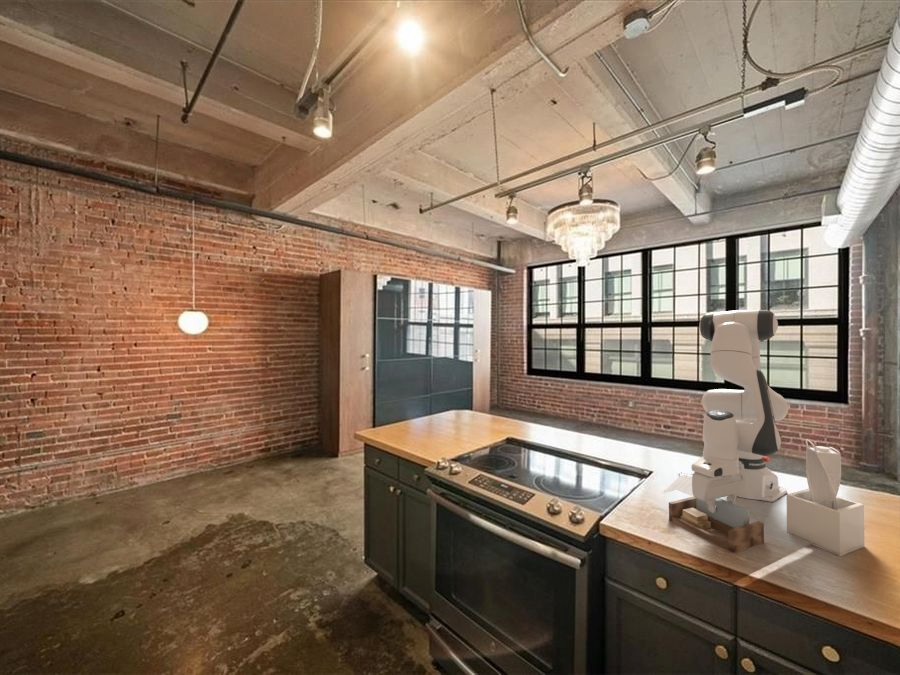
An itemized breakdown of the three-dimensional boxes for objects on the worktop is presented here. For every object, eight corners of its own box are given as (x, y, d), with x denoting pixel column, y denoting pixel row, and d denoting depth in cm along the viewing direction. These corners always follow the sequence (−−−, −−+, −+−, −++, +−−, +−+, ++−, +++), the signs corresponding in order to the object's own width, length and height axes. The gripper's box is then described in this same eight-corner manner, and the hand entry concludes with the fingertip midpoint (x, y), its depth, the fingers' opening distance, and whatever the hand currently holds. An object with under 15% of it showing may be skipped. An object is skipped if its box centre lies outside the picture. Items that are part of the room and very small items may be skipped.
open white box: (810, 526, 115) (810, 488, 115) (864, 546, 104) (863, 504, 104) (787, 534, 111) (786, 494, 111) (840, 556, 100) (839, 512, 100)
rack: (697, 516, 123) (697, 495, 123) (764, 547, 105) (763, 522, 105) (669, 524, 119) (668, 502, 119) (733, 557, 100) (732, 532, 100)
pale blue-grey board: (702, 521, 120) (701, 491, 120) (749, 543, 107) (749, 509, 107) (696, 522, 119) (696, 492, 119) (744, 545, 106) (743, 511, 106)
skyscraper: (798, 533, 110) (796, 440, 110) (813, 527, 113) (811, 436, 113) (836, 548, 102) (834, 448, 102) (851, 541, 105) (849, 444, 105)
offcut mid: (689, 519, 119) (689, 512, 119) (711, 528, 113) (710, 522, 113) (680, 522, 117) (680, 515, 117) (701, 531, 111) (701, 525, 111)
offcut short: (692, 513, 118) (692, 507, 118) (707, 521, 113) (707, 514, 113) (682, 516, 117) (682, 509, 117) (697, 523, 112) (696, 517, 112)
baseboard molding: (651, 500, 137) (688, 511, 128) (651, 492, 137) (688, 503, 128) (676, 476, 158) (710, 484, 149) (676, 470, 158) (710, 477, 149)
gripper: (732, 456, 119) (733, 499, 119) (687, 465, 112) (688, 510, 112) (754, 463, 113) (754, 507, 114) (708, 473, 106) (708, 520, 107)
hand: (721, 509), depth 113 cm, fingers open, 6 cm apart
